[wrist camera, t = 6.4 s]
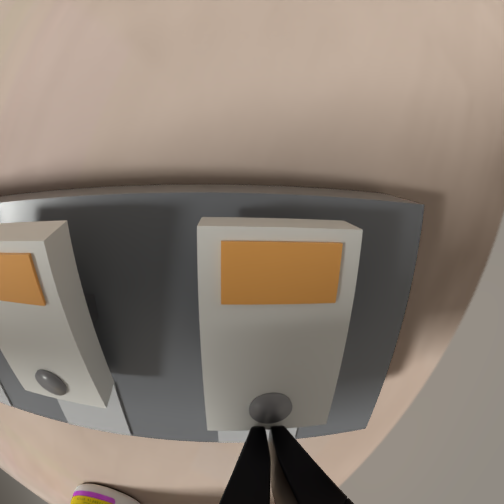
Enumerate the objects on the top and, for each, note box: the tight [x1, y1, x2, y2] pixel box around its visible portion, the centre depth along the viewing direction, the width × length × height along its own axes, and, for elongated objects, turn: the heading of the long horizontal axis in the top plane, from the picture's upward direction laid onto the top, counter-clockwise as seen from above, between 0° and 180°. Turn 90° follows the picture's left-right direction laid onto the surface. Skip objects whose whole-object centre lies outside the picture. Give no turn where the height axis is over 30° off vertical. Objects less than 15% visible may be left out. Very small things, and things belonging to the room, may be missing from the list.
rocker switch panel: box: [0, 184, 424, 443], centre depth 10 cm, size 24×10×4 cm, turn 88°
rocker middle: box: [0, 220, 114, 408], centre depth 7 cm, size 6×4×1 cm, turn 178°
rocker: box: [197, 217, 363, 431], centre depth 8 cm, size 6×4×1 cm, turn 178°
